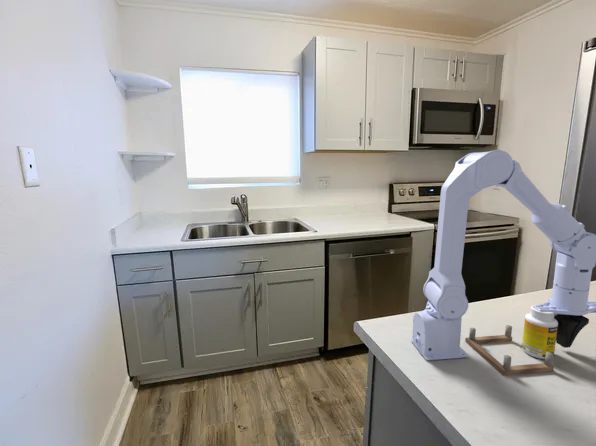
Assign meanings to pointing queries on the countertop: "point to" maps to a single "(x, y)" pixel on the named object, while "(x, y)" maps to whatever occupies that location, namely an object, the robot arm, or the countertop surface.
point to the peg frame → (506, 367)
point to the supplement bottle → (539, 333)
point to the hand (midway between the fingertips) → (563, 344)
